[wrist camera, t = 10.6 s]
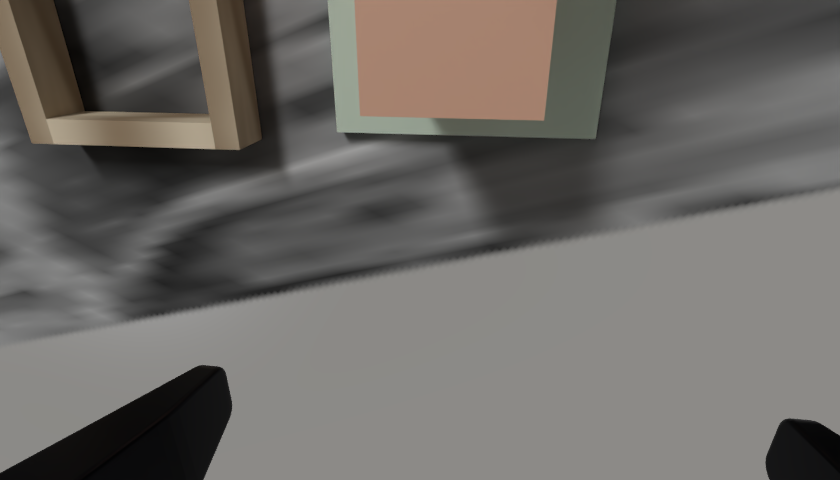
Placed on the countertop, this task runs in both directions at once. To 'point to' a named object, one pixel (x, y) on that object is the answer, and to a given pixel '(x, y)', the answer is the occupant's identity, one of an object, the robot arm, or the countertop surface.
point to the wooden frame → (70, 124)
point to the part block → (454, 58)
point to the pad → (564, 118)
